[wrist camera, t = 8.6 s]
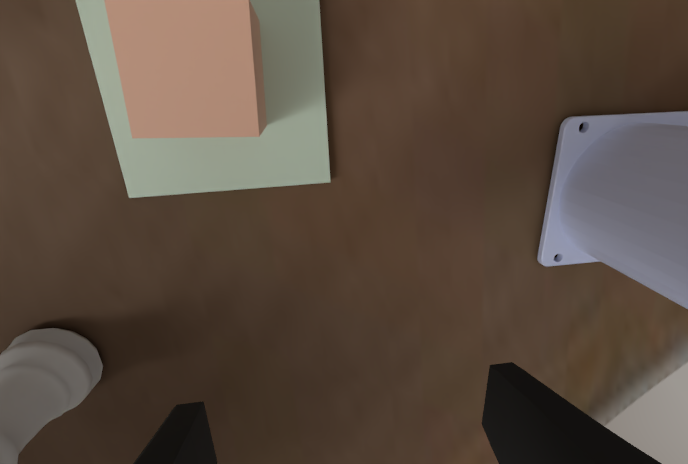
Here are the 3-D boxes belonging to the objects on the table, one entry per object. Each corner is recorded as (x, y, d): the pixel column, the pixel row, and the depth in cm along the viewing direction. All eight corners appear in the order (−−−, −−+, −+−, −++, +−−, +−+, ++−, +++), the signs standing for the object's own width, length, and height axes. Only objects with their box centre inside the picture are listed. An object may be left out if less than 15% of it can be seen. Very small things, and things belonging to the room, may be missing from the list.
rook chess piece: (0, 375, 19) (-185, 556, 12) (26, 309, 18) (-160, 462, 11) (90, 401, 20) (-25, 579, 13) (119, 341, 19) (12, 498, 12)
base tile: (314, -39, 15) (316, -50, 14) (328, 176, 18) (330, 182, 17) (80, -36, 14) (62, -47, 13) (139, 191, 17) (128, 198, 16)
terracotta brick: (259, 20, 14) (248, -3, 11) (266, 125, 16) (259, 136, 12) (152, 18, 14) (102, -8, 10) (170, 126, 15) (132, 138, 12)
